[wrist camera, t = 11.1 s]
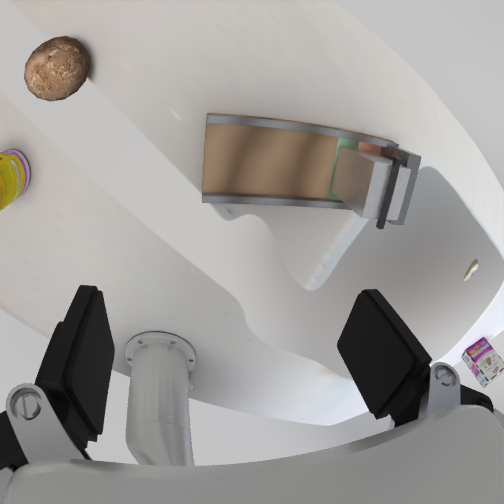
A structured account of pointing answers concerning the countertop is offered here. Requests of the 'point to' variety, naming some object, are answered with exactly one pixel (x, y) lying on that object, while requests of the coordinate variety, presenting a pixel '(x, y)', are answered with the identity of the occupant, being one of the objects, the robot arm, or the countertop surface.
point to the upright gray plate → (412, 163)
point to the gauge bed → (275, 161)
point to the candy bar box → (483, 362)
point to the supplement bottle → (12, 176)
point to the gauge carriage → (370, 184)
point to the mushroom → (57, 69)
